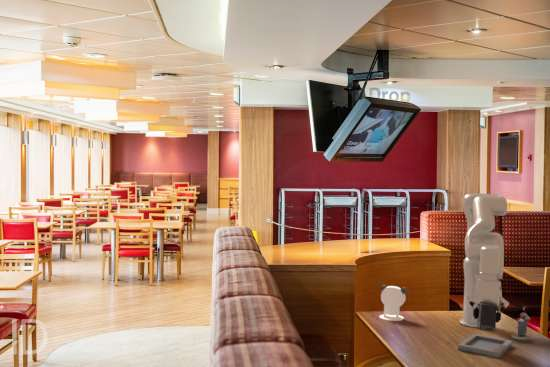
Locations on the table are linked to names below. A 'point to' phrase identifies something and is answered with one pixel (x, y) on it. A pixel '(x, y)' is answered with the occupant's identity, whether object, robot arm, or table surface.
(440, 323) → the table surface
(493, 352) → the tray
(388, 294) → the panda figurine
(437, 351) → the table surface
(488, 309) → the small box
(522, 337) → the figurine
